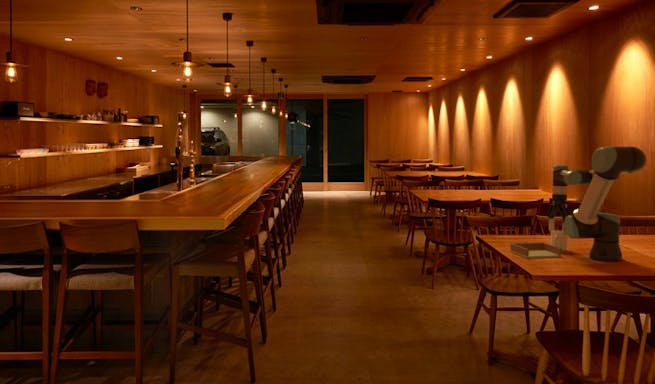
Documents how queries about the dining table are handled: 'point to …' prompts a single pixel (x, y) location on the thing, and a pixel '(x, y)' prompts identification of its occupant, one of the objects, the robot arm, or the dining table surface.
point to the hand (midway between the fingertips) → (558, 232)
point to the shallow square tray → (535, 250)
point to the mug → (559, 239)
